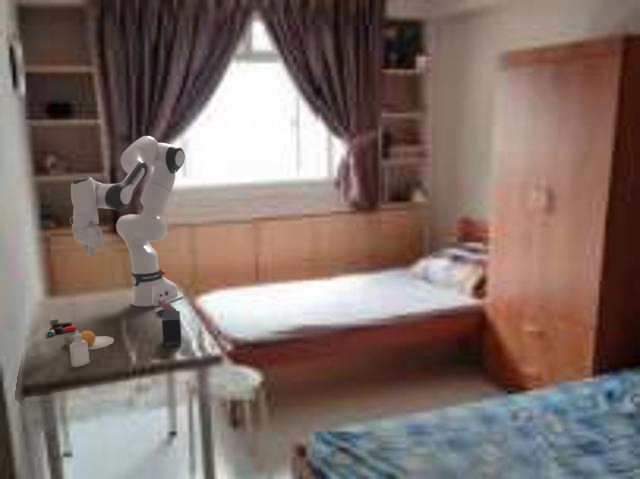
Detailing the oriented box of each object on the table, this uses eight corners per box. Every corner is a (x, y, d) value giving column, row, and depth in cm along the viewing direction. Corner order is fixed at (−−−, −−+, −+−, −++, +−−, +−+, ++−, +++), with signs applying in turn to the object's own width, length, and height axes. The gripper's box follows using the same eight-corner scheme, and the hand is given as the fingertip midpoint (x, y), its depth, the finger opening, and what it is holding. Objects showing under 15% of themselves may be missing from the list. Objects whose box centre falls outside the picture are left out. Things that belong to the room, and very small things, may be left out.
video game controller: (162, 312, 269) (154, 299, 266) (171, 306, 271) (163, 293, 268) (168, 318, 261) (160, 305, 258) (178, 312, 262) (169, 298, 259)
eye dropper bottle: (89, 365, 210) (85, 331, 208) (71, 368, 208) (67, 333, 206) (90, 360, 214) (86, 327, 212) (72, 363, 212) (68, 329, 210)
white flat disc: (105, 334, 240) (104, 333, 240) (120, 342, 230) (120, 342, 230) (71, 343, 231) (71, 342, 231) (85, 352, 222) (85, 352, 222)
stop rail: (71, 342, 232) (70, 335, 231) (87, 352, 222) (86, 344, 221) (65, 344, 230) (64, 336, 230) (80, 354, 220) (79, 346, 219)
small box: (182, 346, 224) (179, 318, 222) (163, 348, 223) (160, 320, 221) (182, 336, 234) (180, 309, 232) (164, 338, 233) (162, 311, 231)
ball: (93, 331, 232) (80, 327, 228) (100, 335, 228) (86, 331, 224) (87, 345, 231) (73, 341, 227) (94, 349, 227) (80, 346, 223)
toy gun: (45, 338, 238) (43, 326, 237) (54, 328, 250) (53, 316, 249) (71, 337, 239) (70, 325, 238) (80, 326, 251) (78, 315, 250)
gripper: (106, 221, 233) (109, 258, 236) (83, 216, 248) (87, 250, 251) (89, 224, 229) (93, 261, 232) (67, 218, 244) (71, 253, 247)
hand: (90, 255), depth 242 cm, fingers closed
